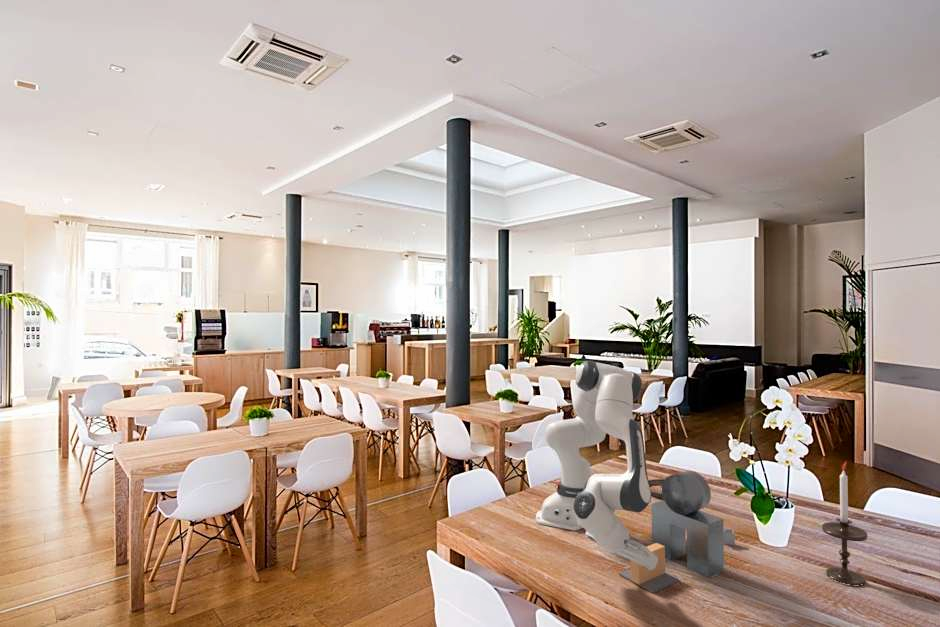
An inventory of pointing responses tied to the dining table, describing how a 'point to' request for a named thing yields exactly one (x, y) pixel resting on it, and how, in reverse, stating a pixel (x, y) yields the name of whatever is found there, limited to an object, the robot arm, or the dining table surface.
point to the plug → (641, 573)
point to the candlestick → (844, 537)
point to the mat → (653, 581)
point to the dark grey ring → (656, 483)
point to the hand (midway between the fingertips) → (635, 560)
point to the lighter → (729, 536)
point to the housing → (689, 524)
